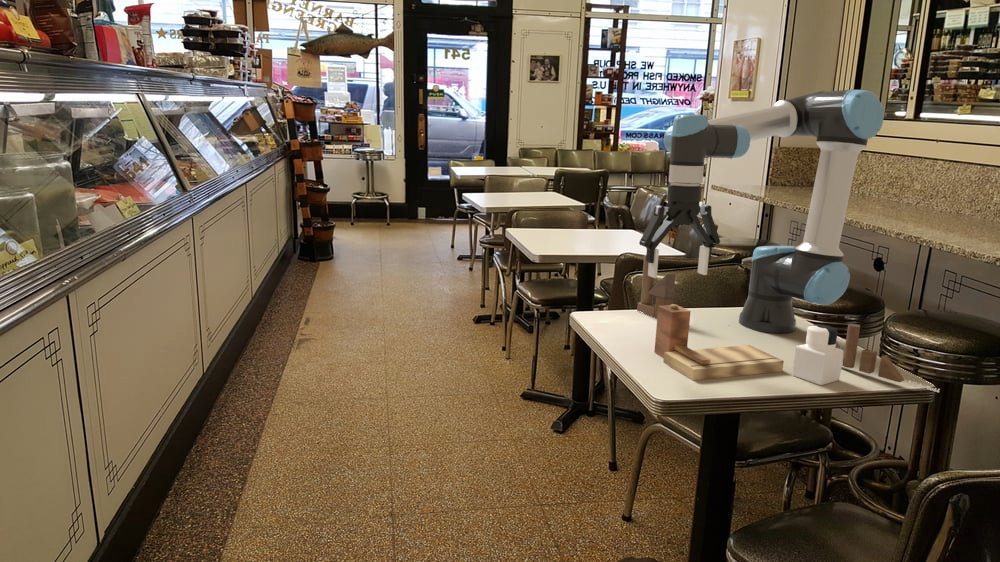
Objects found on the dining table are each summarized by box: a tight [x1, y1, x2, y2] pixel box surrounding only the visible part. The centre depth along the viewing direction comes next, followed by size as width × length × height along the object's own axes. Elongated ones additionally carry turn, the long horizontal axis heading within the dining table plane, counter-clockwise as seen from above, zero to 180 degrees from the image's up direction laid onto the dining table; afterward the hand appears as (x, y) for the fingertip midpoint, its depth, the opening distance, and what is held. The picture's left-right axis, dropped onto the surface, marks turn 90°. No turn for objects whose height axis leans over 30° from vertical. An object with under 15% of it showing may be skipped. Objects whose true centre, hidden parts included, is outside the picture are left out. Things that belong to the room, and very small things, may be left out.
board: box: [662, 344, 785, 381], centre depth 158 cm, size 24×12×3 cm, turn 109°
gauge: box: [653, 303, 710, 365], centre depth 158 cm, size 5×17×13 cm, turn 19°
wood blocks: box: [835, 323, 940, 393], centre depth 155 cm, size 25×3×10 cm, turn 37°
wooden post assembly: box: [636, 254, 677, 319], centre depth 197 cm, size 4×11×18 cm, turn 32°
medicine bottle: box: [792, 323, 845, 386], centre depth 152 cm, size 7×7×12 cm
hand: (677, 275), depth 160 cm, fingers open, 13 cm apart
